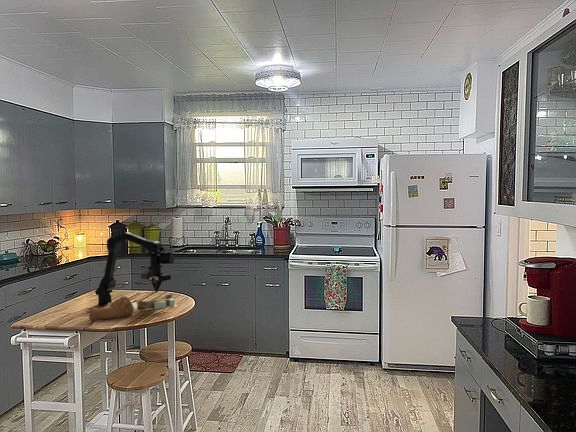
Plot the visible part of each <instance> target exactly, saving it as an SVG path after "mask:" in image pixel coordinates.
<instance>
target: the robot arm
mask: <svg viewBox="0 0 576 432" xmlns="http://www.w3.org/2000/svg"><path fill="white" fill-rule="evenodd" d="M126 241H128V242H132V243H134V244H137V245H139V246H141V247H143V248H144V249H145V250H147V251H148V252H147V254H145V257H149V266H148V267H147V269H146V270H144V271H143V272H141V275H140V278H141V279H143V280H148V281H149V282H150V283H151V285H152V287H153V290H154V292H155V293H157V292H158V291H159V289H160V287H161V285H162V283H163V282H166V281H169V280H172V276H171V274H167V273H164V274H163V272H162V268H163V265H173V264H174V263H175V255H174V254H173V252H172V251H166V249H164V247H163V245H162V242H160V241H159V240H156V239H155V240H152V239H148V238H144V237H142V236H139V235H138V234H134V233H133V232H130V231H124V232H122V233H120V234H117V235H116V236H110V237H109V238H108V239H107V240H106V249H107V251H108V252H107V258H106V264H105V269H104V275H103V277H102V279H101V280H100V282H99V285H98V287H97V288H96V290H95V291H94V294H95V295H96V296H98V303H97V304H98V306H101V307H102V306H107V305H108V304H109V303H112V295H111V293H113V290H114V289H115V287H116V282H117V279H116V278H114V273H115V269H116V268H115V267H116V262H117V257H118V252H119V250H120V249H121V248H122V244H123V243H125V242H126Z"/></svg>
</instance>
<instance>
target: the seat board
mask: <svg viewBox="0 0 576 432" xmlns="http://www.w3.org/2000/svg"><path fill="white" fill-rule="evenodd" d="M164 296H165V299H170V298H173V297H172V296H173V295H172V294H171V293H166V294H165V295H164ZM137 302H138V301H136V302H135V301H134V302H131V303H132V305H133V312H139V311H140V312H141V311H150V310H156V309H155V308H154V307H150V308H143V309H138V308H137ZM174 307H175V308H176V307H179V306H178V304H177V303H176V302H175V306H170V305H166V308H168V309H169V308H174ZM166 308H165V309H166ZM158 309H160V308H158ZM158 309H157V310H158Z"/></svg>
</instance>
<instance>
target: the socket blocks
mask: <svg viewBox="0 0 576 432" xmlns="http://www.w3.org/2000/svg"><path fill="white" fill-rule="evenodd" d="M168 300H169V305H170V306H175V303H176V300H175V298H173V297H172V298H170V299H168ZM154 308H155V309H154V310H158V308H159V309H166V301H160V302H154Z"/></svg>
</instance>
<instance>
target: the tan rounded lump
mask: <svg viewBox="0 0 576 432" xmlns="http://www.w3.org/2000/svg"><path fill="white" fill-rule="evenodd" d="M132 303H133V302H131V300H130V298H128V297H127V296H121V297H119V298H118V299H115V300H114V301H113V302H110V304H109V306H106V307H100V308H98V307H91V308H90V310H89V312H88V313H89V315H88V318H89V321H91V322H95V321H97V320H101V321H102V320H103V321H104V320H113V319H114V320H115V319H120V318H123V317H127V316H131V315H133V313H134V309H133V305H132Z"/></svg>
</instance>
